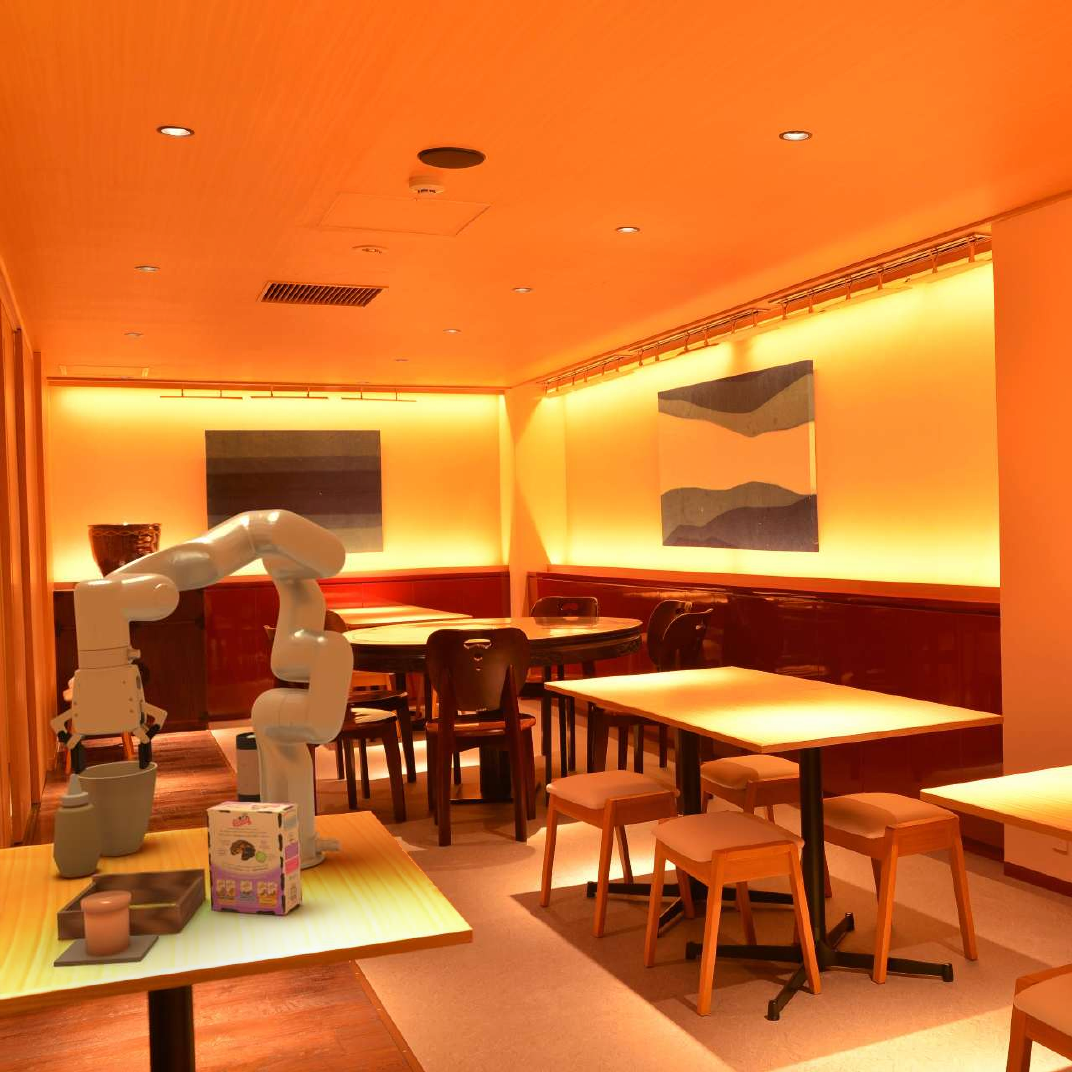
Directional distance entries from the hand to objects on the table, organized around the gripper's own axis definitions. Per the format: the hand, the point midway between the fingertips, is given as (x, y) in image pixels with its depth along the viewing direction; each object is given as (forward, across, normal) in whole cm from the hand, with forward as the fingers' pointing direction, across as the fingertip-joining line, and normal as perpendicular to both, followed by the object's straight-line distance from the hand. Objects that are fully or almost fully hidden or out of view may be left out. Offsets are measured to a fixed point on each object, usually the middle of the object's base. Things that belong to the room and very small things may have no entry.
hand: (112, 770), depth 172 cm
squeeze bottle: (+25, +17, -31) cm, 43 cm away
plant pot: (+26, +14, -45) cm, 53 cm away
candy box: (+25, -19, -5) cm, 32 cm away
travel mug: (+26, -12, -52) cm, 60 cm away
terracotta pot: (+23, -1, +11) cm, 26 cm away
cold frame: (+24, -1, -4) cm, 25 cm away
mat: (+24, -1, +11) cm, 26 cm away
